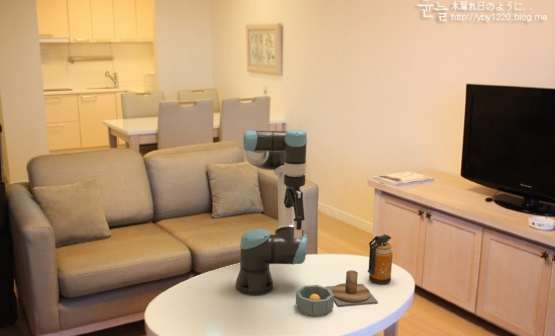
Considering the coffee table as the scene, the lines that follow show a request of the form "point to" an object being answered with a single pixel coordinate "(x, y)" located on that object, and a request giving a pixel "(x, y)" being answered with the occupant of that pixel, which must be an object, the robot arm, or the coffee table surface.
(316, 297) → the orange ball
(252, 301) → the coffee table surface
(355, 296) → the walnut lid
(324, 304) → the slate bowl
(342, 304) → the rubber mat
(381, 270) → the canister
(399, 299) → the coffee table surface
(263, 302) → the coffee table surface
